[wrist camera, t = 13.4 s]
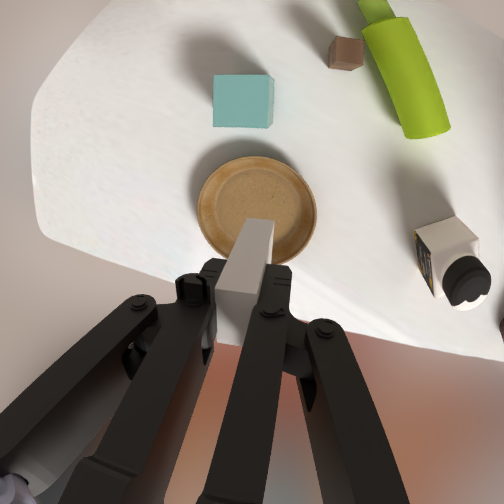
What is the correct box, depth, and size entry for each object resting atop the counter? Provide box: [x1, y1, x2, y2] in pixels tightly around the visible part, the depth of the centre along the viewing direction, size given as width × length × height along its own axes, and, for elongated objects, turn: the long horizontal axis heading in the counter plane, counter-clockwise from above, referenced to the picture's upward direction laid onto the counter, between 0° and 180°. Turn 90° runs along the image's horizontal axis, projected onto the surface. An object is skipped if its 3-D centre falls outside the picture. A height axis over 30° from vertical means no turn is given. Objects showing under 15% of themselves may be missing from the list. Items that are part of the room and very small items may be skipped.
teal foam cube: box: [213, 75, 274, 128], centre depth 28 cm, size 5×5×7 cm
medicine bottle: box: [414, 216, 491, 310], centre depth 32 cm, size 7×7×12 cm
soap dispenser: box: [357, 0, 451, 139], centre depth 24 cm, size 6×7×20 cm
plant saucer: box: [197, 156, 317, 265], centre depth 38 cm, size 15×15×3 cm
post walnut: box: [328, 36, 364, 71], centre depth 25 cm, size 3×3×7 cm
